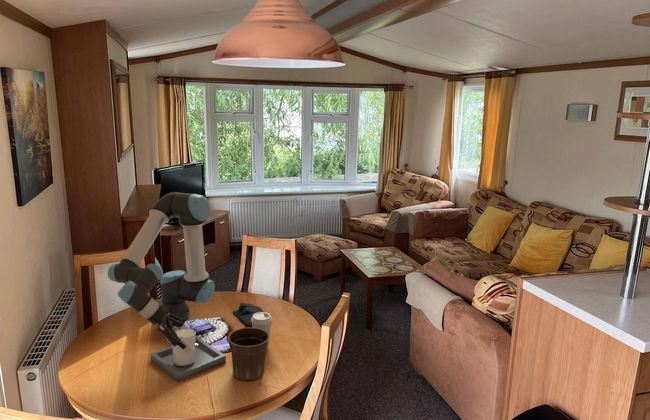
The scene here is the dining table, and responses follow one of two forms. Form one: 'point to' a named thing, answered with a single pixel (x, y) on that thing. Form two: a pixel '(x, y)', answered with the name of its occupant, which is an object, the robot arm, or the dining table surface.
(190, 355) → the candle holder
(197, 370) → the tray
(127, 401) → the dining table surface
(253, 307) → the dark grey crumpled cloth
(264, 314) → the coffee cup
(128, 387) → the dining table surface
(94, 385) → the dining table surface
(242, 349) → the plant pot
